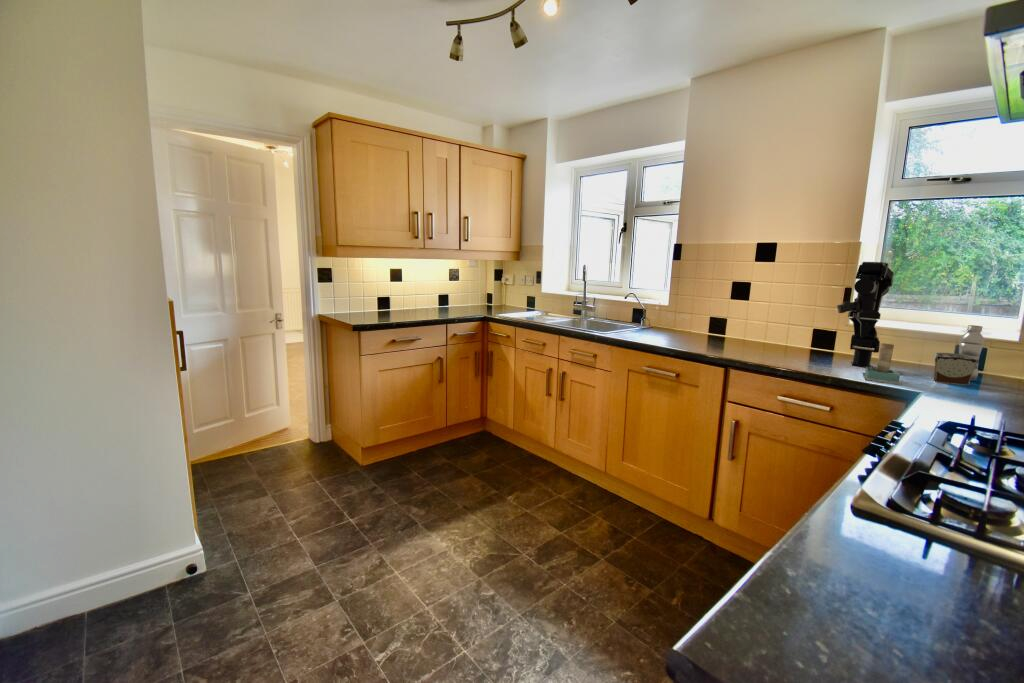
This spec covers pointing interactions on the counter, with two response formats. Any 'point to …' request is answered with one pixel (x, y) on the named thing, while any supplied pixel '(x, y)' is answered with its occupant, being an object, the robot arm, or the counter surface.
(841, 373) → the counter surface
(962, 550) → the counter surface
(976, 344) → the plastic bottle
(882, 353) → the dowel
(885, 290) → the robot arm
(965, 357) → the food container
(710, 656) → the counter surface
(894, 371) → the collar plate
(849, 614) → the counter surface
